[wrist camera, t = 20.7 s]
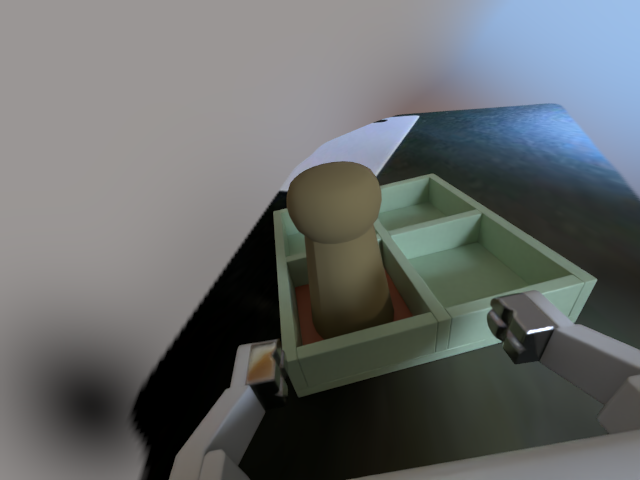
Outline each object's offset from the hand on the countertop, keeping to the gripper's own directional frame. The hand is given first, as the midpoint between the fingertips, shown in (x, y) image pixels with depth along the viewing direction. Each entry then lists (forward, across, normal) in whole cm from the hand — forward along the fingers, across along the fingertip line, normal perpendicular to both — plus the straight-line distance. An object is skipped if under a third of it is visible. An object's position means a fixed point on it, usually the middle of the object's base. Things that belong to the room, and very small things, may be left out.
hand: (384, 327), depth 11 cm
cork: (+7, -1, -7) cm, 10 cm away
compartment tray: (+12, +3, -8) cm, 15 cm away
